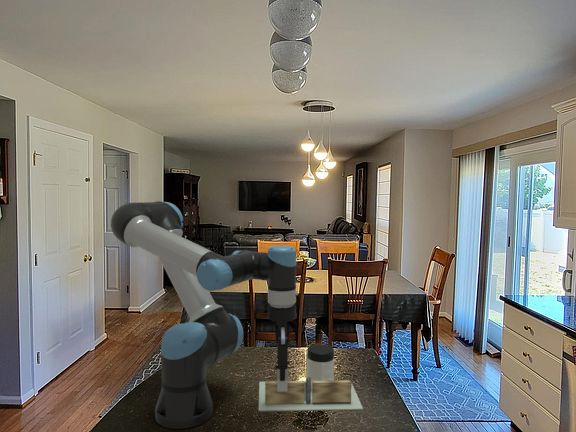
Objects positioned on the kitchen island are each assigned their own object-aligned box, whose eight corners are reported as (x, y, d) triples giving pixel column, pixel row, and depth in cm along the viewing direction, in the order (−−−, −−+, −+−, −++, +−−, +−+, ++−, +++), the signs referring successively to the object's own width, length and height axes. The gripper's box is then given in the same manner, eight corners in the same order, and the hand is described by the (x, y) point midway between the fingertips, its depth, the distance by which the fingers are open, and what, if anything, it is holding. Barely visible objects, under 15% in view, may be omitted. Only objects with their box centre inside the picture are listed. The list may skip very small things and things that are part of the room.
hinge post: (305, 405, 118) (306, 379, 118) (305, 402, 120) (305, 377, 119) (310, 405, 118) (311, 379, 118) (310, 402, 120) (310, 377, 119)
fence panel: (303, 400, 120) (303, 380, 119) (304, 403, 118) (304, 383, 118) (265, 400, 119) (265, 381, 119) (265, 403, 118) (265, 383, 117)
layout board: (258, 411, 115) (258, 409, 115) (259, 382, 132) (259, 381, 132) (363, 409, 116) (363, 408, 116) (350, 381, 133) (350, 380, 133)
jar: (316, 396, 123) (317, 356, 122) (300, 385, 130) (301, 347, 129) (339, 388, 128) (340, 350, 127) (322, 378, 134) (324, 341, 134)
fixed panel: (312, 402, 118) (312, 383, 118) (312, 400, 120) (312, 380, 119) (351, 402, 119) (351, 382, 119) (350, 399, 120) (350, 380, 120)
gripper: (298, 310, 105) (298, 402, 107) (294, 297, 118) (294, 379, 120) (268, 311, 105) (268, 402, 106) (267, 298, 118) (268, 379, 119)
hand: (282, 390), depth 113 cm, fingers closed
